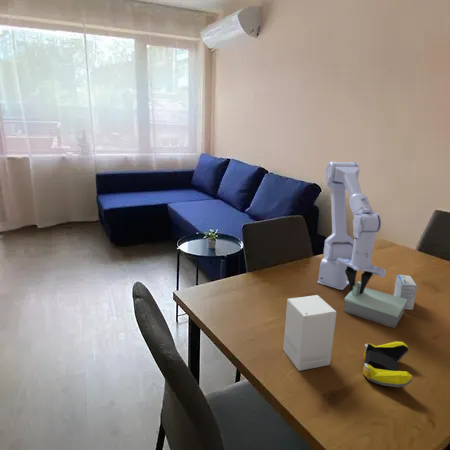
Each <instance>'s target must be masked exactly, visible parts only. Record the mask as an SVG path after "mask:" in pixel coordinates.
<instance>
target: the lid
mask: <svg viewBox="0 0 450 450" xmlns="http://www.w3.org/2000/svg"><path fill="white" fill-rule="evenodd" d="M360 287H361V281H357V282H355V285H354V286H353V291H350V292H348V294H346V296H345V297H344V302H345V301H348V302H352V303H355V304H358V305H361V306H364V307H367V308H370V309H373V310H377V311H380V312H383V313H386V314H389V315H392V316H395V317H398V316H399V314H400V313H401V311H402V309H403V308H404V306H405V304H406V302H407V299H404V298H400V297H397V296H393V295H394V294H389V293H387V292H383V291H380V290H376V289H372V288H368V287H365V289H364V292H363V293H362V294H360Z"/></svg>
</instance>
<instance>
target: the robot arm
mask: <svg viewBox="0 0 450 450" xmlns="http://www.w3.org/2000/svg"><path fill="white" fill-rule="evenodd" d="M359 175H360V165H359V164H358V162H357V161H350V162H349V161H347V162H346V161H330V162H328V164H327V166H326V169H325V181H326V187H328V188H330V203H331V205H330V207H331V229H332V230H331V234H330V235H329V236H328V237H327V238H326V239H325V240H324V247H323V258H322V259H321V261H320V265H319V271H318V278H317V279H318V280H317V284H320V285H324V286H327V287H330V288H334V289H337V290H340V291H343V290H344V289H345V288H346V287H348V285H349V291H350V292H351V291H353V286H354V285H355V284H356V278H357V273H358V272H362V273H361V275H360V277H361V278H360V280H361V281H360V282H361V287H360V294H362V293H363V292H364V289H365V287H366V286H367V285H368V283H369V281H370V279H371V278H372V277H373V275H374V276H379V277H380V278H384V277H385V275H386V269H385V268H381V267H378V266H376V265H374V264H372V259H373V252H374V246H375V238H376V233H378V232H379V231H380V229H381V228H382V227H381V226H382V219H381V216H380V214H379V213H377V212H376V210H373V208H372V206H371V203H370V201H369V199H368V196H367V195H366V194H363V193H362V190H361V186H360V181H359ZM346 191H347V193H348V196H349V197H350V198H349V200H348V205H349V207H350V210H351V212H352V213H351V214H352V216H353V220H352V227H353V233H352V234H353V237H354V239H353V238H352V237H351V236H350V235H349V234H348V231H347V210H346V209H347V207H346ZM366 288H367V287H366Z"/></svg>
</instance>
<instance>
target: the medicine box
mask: <svg viewBox="0 0 450 450" xmlns="http://www.w3.org/2000/svg"><path fill="white" fill-rule="evenodd" d="M417 288H418V285H417V284H416V282H415V281H414V279H413V278H412V277H411V276H410V275H404V274H397V275H396V277H395V283H394V290H393V294H392V295H393V296H397V297H400V298H404V299H407V302H406V304H405V308H404V310H409V311H413V310H414V305H415V300H416V296H417Z"/></svg>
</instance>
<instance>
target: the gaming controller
mask: <svg viewBox="0 0 450 450" xmlns="http://www.w3.org/2000/svg"><path fill="white" fill-rule="evenodd" d="M364 348H365V351H364V352H363V357H362V358H363V360H364V363H363V365H364V366H363V368H362V374H363V376H364V377H366V378H367V380H368V381H371V382H372V383H375V384H378V385H380V386H386V387H393V388H401V387H406V386H408V385H409V384H410V383H412V381H413V375H412V374H411V373H409V371H405V370H404V371H403V370H398V363H399V362H400V361H401V360H402V358H403V357H405V355H407V354H408V352H409V346H408V345H407V344H406V343H404V342H403V341H392V342H388V343H384V344H380V345H374V344H373V343H365V344H364Z"/></svg>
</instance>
